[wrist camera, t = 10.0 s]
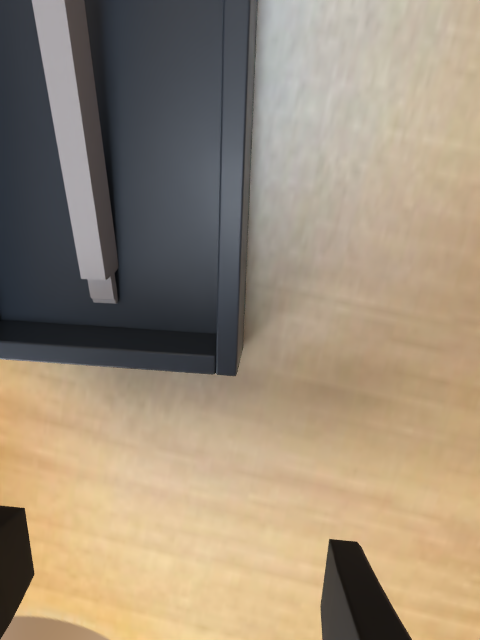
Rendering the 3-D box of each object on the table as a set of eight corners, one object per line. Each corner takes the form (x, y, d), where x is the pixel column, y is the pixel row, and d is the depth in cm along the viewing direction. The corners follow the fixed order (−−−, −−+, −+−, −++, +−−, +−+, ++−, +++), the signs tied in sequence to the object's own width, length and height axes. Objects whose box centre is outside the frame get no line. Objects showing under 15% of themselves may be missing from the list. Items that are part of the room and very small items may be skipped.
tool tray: (279, -526, 11) (280, -797, 8) (243, 348, 18) (236, 377, 15) (-130, -487, 11) (-266, -716, 9) (-6, 331, 19) (-57, 356, 16)
